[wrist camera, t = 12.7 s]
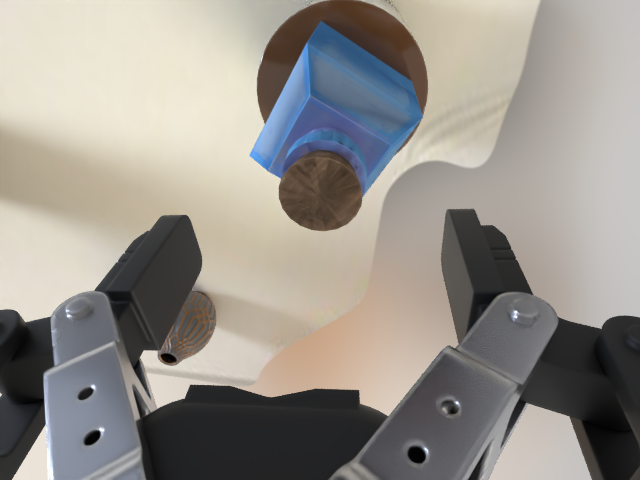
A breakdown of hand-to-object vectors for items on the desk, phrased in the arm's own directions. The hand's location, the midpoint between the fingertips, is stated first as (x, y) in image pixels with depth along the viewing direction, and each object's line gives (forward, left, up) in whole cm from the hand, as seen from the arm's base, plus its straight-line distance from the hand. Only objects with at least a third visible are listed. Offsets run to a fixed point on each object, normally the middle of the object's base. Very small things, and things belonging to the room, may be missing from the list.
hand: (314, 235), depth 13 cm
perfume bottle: (0, 0, -15) cm, 15 cm away
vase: (+5, -34, -25) cm, 43 cm away
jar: (0, 0, -25) cm, 25 cm away
